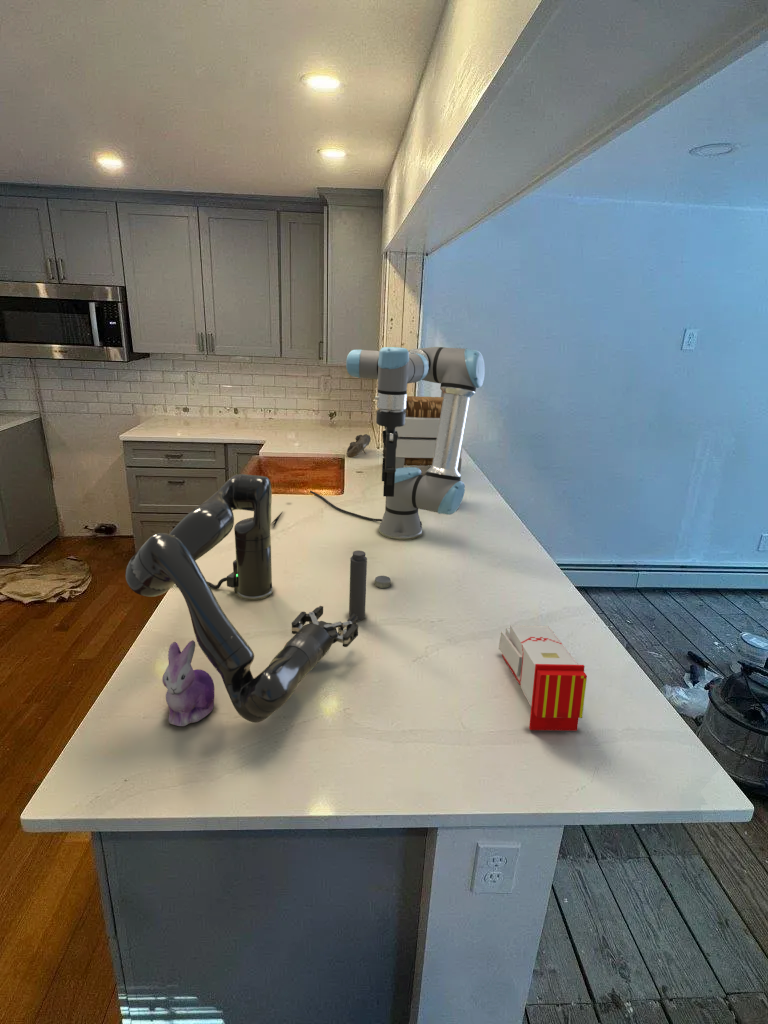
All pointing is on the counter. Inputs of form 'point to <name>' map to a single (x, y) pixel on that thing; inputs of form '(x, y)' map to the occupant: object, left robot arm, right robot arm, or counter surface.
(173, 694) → the figurine
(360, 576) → the dark gray cylinder
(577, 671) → the toy
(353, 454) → the fossil
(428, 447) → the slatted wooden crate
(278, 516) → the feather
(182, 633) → the counter surface
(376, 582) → the lid
